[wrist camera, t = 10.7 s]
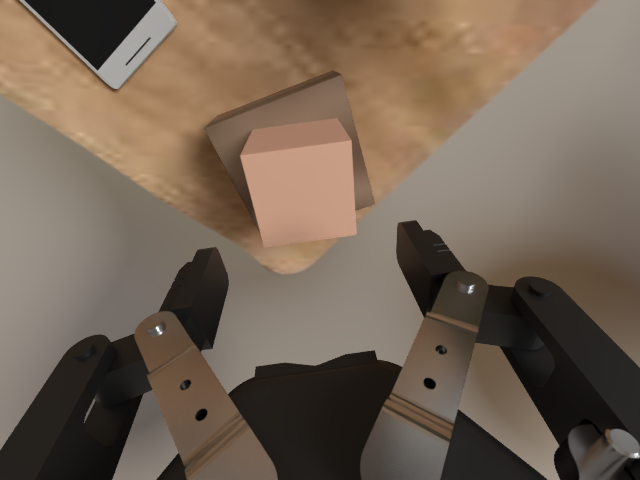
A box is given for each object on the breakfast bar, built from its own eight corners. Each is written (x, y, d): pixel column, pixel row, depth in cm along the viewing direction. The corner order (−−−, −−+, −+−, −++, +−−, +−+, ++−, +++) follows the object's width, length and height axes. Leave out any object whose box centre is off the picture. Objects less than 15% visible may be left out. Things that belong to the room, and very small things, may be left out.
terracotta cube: (252, 129, 21) (240, 155, 16) (337, 118, 21) (351, 140, 16) (269, 206, 24) (264, 247, 19) (343, 195, 24) (356, 234, 19)
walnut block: (218, 114, 25) (204, 128, 21) (332, 69, 24) (341, 74, 19) (268, 214, 30) (264, 241, 26) (363, 181, 29) (375, 204, 25)
